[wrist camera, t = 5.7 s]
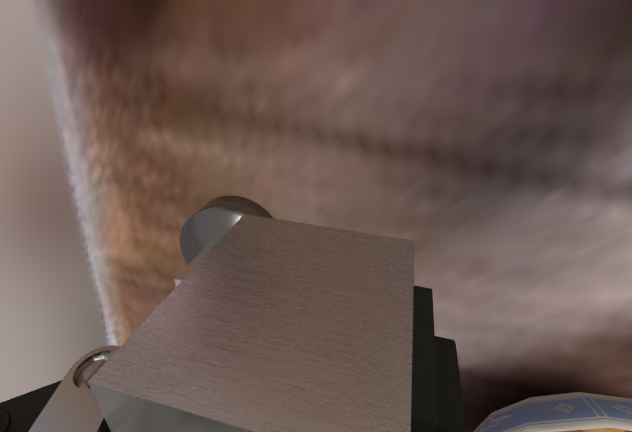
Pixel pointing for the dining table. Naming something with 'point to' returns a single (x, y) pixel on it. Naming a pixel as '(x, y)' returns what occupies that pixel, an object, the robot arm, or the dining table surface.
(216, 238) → the ratchet
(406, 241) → the socket
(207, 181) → the dining table surface
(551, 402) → the ramen bowl
